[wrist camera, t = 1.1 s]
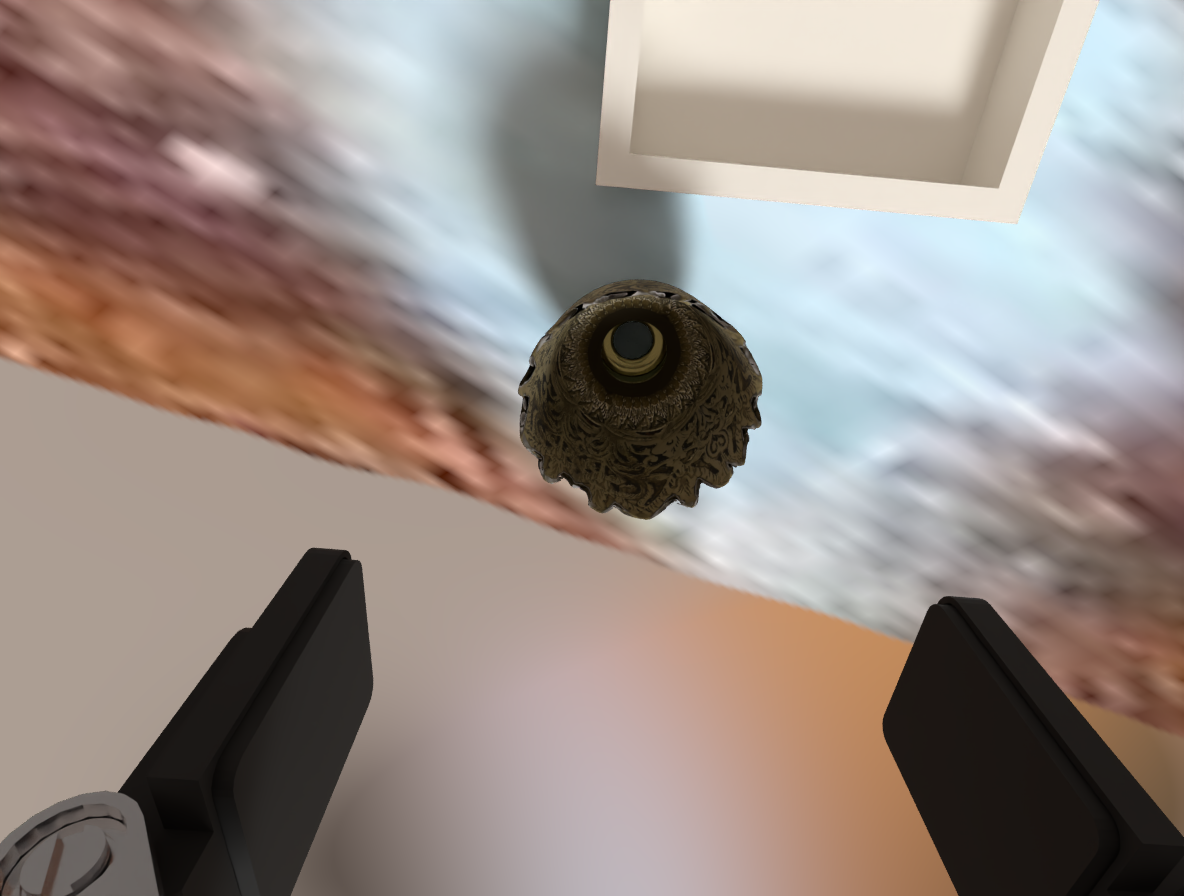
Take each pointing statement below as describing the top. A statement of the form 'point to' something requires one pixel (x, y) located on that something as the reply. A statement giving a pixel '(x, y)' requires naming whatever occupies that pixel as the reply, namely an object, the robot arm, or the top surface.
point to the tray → (838, 100)
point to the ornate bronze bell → (640, 400)
